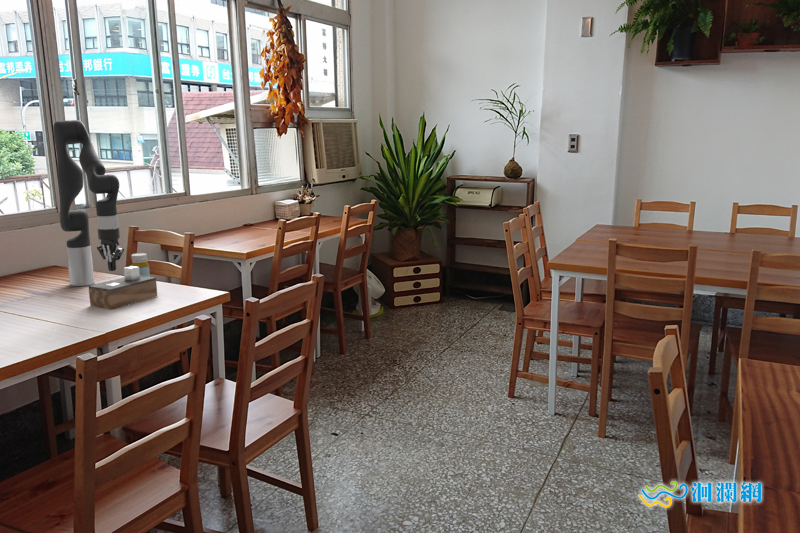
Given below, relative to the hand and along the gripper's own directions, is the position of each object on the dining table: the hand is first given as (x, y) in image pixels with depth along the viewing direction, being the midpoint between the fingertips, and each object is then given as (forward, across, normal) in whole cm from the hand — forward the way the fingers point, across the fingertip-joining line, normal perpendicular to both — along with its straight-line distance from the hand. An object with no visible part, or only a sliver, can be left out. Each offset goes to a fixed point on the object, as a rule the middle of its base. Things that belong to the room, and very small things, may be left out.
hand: (112, 270), depth 233 cm
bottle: (+14, -11, +22) cm, 28 cm away
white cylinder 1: (+13, 0, 0) cm, 13 cm away
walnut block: (+13, 0, +4) cm, 14 cm away
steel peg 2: (+8, 0, +9) cm, 12 cm away
